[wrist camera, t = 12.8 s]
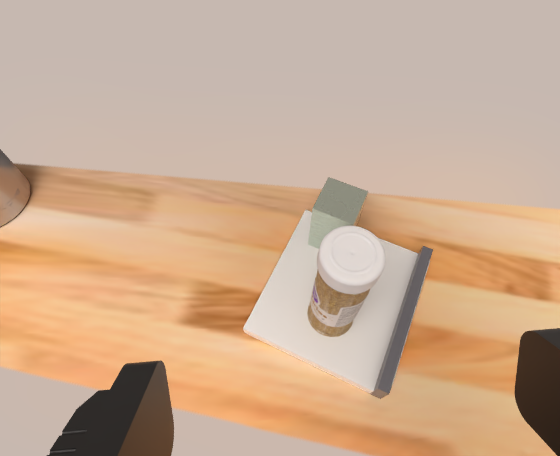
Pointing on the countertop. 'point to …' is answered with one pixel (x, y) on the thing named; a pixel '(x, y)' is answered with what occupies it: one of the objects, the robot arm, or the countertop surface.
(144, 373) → the robot arm
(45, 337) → the countertop surface
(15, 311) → the countertop surface
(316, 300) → the spice jar
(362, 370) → the tray
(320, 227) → the tea tin
